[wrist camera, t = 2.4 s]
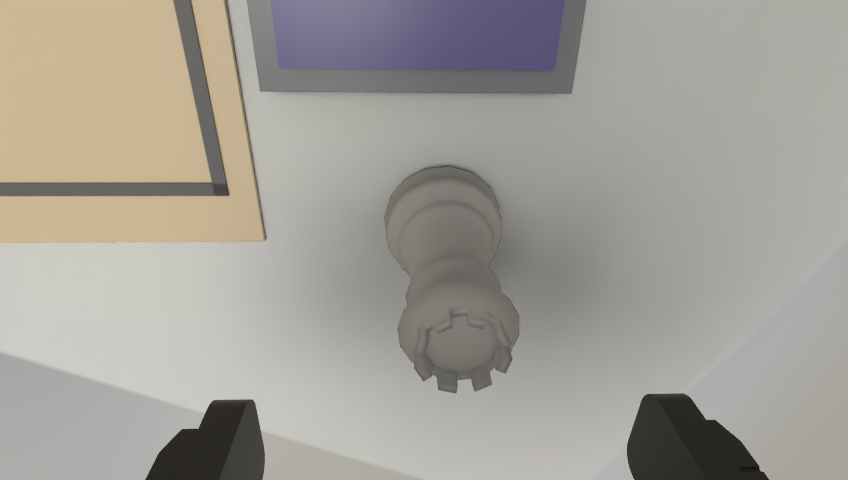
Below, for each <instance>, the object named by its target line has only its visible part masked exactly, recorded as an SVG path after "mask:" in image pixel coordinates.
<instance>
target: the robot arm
mask: <svg viewBox="0 0 848 480" xmlns="http://www.w3.org/2000/svg"><path fill="white" fill-rule="evenodd" d="M627 456H628V463H629V467H630V470H631V473H632V475H633V478H634V479H635V480H769V479H768V478H767V476H766V475H765V473H764V472H761V471H760V470H759V466H758V464H757V463H756V461H755V460H754V459H753V457H752V456H751V455H750V453H749V452H748V450H747V449H746V448H745V446H744V445H743V444H742V442H741V441H740V440H739V439H737V438H736V437H735V436H734V435H733V434H731V433H730V432H729V431H728V430H726V429H725V428H724V427H723V426H722V425H720V424H719V423H718V422H717V421H716V420H706V419H705V418H704V416H703V415H702V414H701V412H700V411H699V409H698V408H697V407H696V405H695V404H694V402H693V401H692V399H691V398H690V397H689V396H687V395H686V394H647V395H645V396H644V397H643V399H642V401H641V404H640V407H639V410H638V413H637V416H636V419H635V422H634V425H633V428H632V431H631V434H630V437H629V440H628V444H627ZM264 463H265V452H264V445H263V441H262V436H261V430H260V425H259V420H258V415H257V410H256V405H255V402H254V401H253V400H214V401H212V402H211V404H210V405H209V407H208V409H207V411H206V413H205V415H204V418H203V420H202V422H201V424H200V427H199V429H182V430H181V431H180V432H179V433H178V434H177V435H176V436H175V437H174V438H173V439H172V440H171V441H170V442H169V443H168V444H167V445H166V446H165V447H164V448H163V449H162V450H161V451H160V452H159V454H158V456H157V458H156V460H155V462H154V464H153V466H152V468H151V470H150V472H149V474H148V476H147V478H146V480H262V479H263V473H264Z"/></svg>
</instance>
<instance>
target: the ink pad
mask: <svg viewBox="0 0 848 480" xmlns="http://www.w3.org/2000/svg"><path fill="white" fill-rule="evenodd" d="M247 4H248V11H249V18H250V25H251V32H252V38H253V45H254V52H255V59H256V66H257V72H258V79H259V86H260V91H267V92H414V93H561V94H572V87H573V81H574V75H575V68H576V62H577V56H578V50H579V43H580V37H581V31H582V24H583V18H584V12H585V5H586V0H247Z"/></svg>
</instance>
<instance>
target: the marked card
mask: <svg viewBox="0 0 848 480" xmlns="http://www.w3.org/2000/svg"><path fill="white" fill-rule="evenodd" d="M264 241H265V233H264V227H263V221H262V215H261V209H260V203H259V197H258V191H257V185H256V179H255V173H254V167H253V161H252V155H251V149H250V143H249V137H248V131H247V124H246V118H245V112H244V106H243V100H242V94H241V88H240V82H239V76H238V70H237V64H236V58H235V52H234V46H233V40H232V34H231V28H230V22H229V16H228V10H227V4H226V0H0V243H54V242H264Z"/></svg>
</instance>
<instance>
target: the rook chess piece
mask: <svg viewBox="0 0 848 480" xmlns="http://www.w3.org/2000/svg"><path fill="white" fill-rule="evenodd" d="M384 218H385V225H386V227H385V229H386V235H387V242H388V248H389V250H390V251H391V253H392V255H393V256H394V258H395V259H396V261H397V262H398V264H399V265H400V267H401V268H402V269H403V270H405V271H406V272H407V273H408V274H409V275H410V276H411V279H412V280H411V282H410V285H409V288H408V291H407V294H406V299H407V307H406V308H405V309H404V311H403V314H402V317H401V319H400V322H399V325H398V334H399V341H400V347H401V348H402V349H403V351H404V352H405V353H406V355H407V356H408V358H409V359H410V360H411V362H413V363H414V369H415V370H416V372H417V373H418V374H419V376H420V377H421V378H422V380H423V381H425V380H426V379H428V378H430V377H431V376H432V374H433V375H435V376H437V381H438V390H442V391H447V392H452V393H456V391H457V386H458V384H457V380H463V379H472V385H473V387H474V390H475V391H477V390H480V389H482V388H485V387H487V386H490V385H492V382H491V377H490V373H489V372H490V371H491V370H492V369H493V368H494V367H495V369H496V370H498V371H500V372H503V373H506V371H507V369H508V367H509V365H510V363H511V361H512V356H511V350H512V348H513V346H514V344H515V342H516V340H517V338H518V336H519V315H518V313H517V311H516V309H515V307H514V306H513V304H512V302H511V300H510V299H509V298H508V297H507V296H505V295H504V294H502V293H501V285H500V283H499V282H498V280H497V278H496V276H495V274H494V272H493V271H491V270H490V269H489V262H490V261H491V260H492V259H493V257H494V254H495V252H496V250H497V247H498V245H499V243H500V240H501V215H500V213H499V205H498V203H497V201H496V199H495V197H494V195H493V193H492V191H491V189H490V187H489V186H488V185H487V184H485V183H484V182H483V181H482V180H480V179H479V178H478V177H477V176H475V175H474V174H473V173H471V172H467V171H464V170H460V169H457V168H453V167H440V168H430V169H425V170H423V171H421V172H419V173H417V174H415V175H413V176H411V177H409V178H407V179H405V180H404V181H403V182H402V184H401V185H400V186H399V187H398V188H397V189H396V191H395V192H394V193H393V194H392V195H391V197H390V199H389V203H388V206H387V209H386V213H385V216H384Z"/></svg>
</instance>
